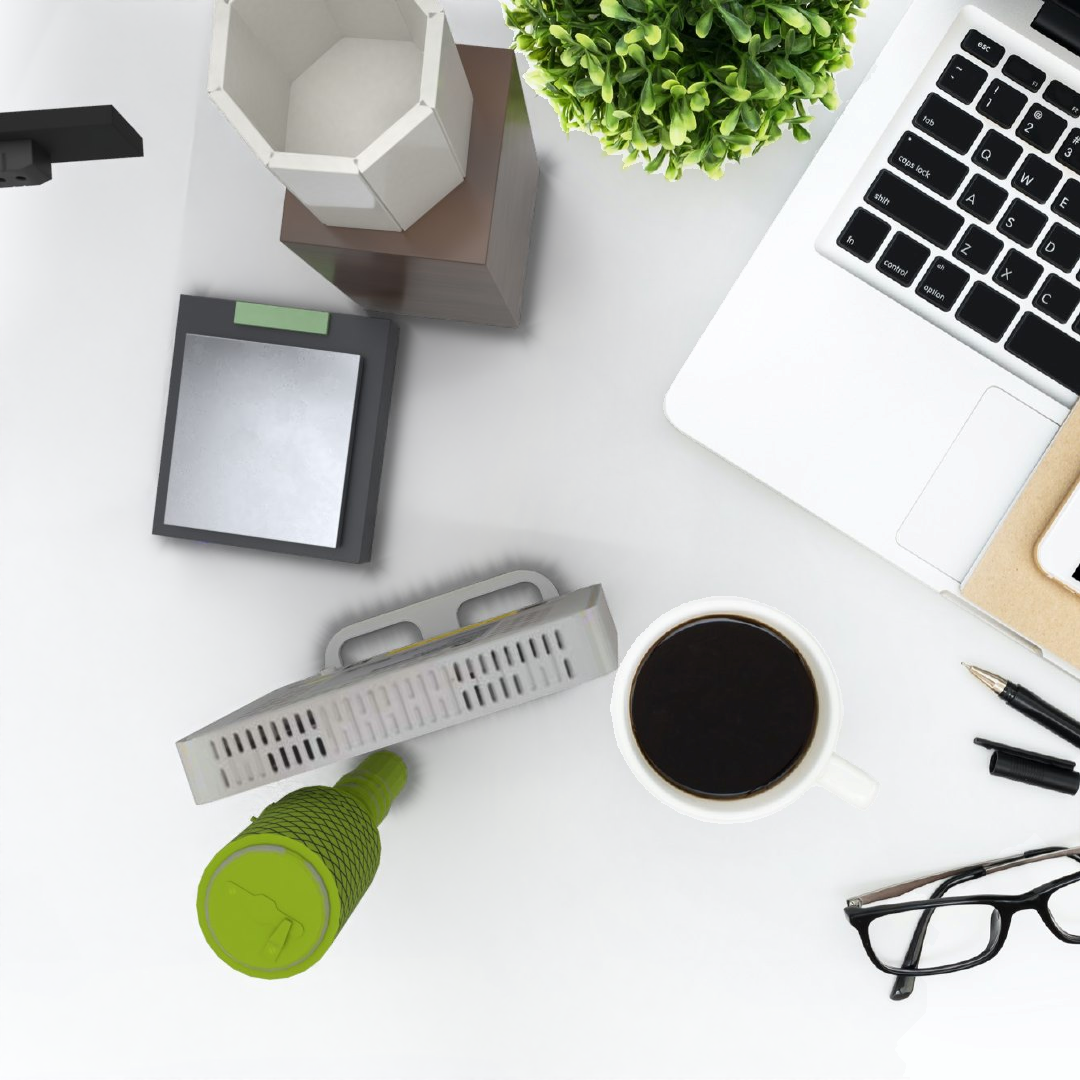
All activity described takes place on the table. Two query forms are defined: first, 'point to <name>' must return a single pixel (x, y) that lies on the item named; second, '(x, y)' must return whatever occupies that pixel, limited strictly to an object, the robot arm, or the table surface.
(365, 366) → the scale
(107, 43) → the table surface
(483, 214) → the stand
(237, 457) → the scale pan
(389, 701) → the network device
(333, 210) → the cup
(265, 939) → the microphone
